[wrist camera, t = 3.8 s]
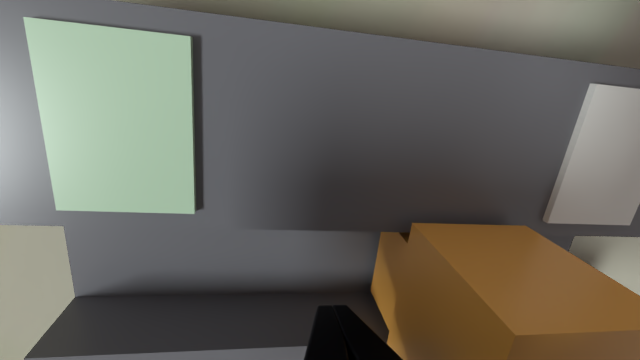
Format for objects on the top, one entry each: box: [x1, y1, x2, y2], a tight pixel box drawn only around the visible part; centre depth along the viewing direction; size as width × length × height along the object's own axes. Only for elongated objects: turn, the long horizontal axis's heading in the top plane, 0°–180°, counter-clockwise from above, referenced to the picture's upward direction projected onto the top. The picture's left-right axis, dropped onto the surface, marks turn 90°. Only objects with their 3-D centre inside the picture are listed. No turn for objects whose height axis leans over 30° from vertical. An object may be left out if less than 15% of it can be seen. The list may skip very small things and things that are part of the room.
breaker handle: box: [371, 223, 640, 360], centre depth 9 cm, size 4×5×6 cm
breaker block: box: [0, 0, 640, 360], centre depth 12 cm, size 19×14×4 cm
